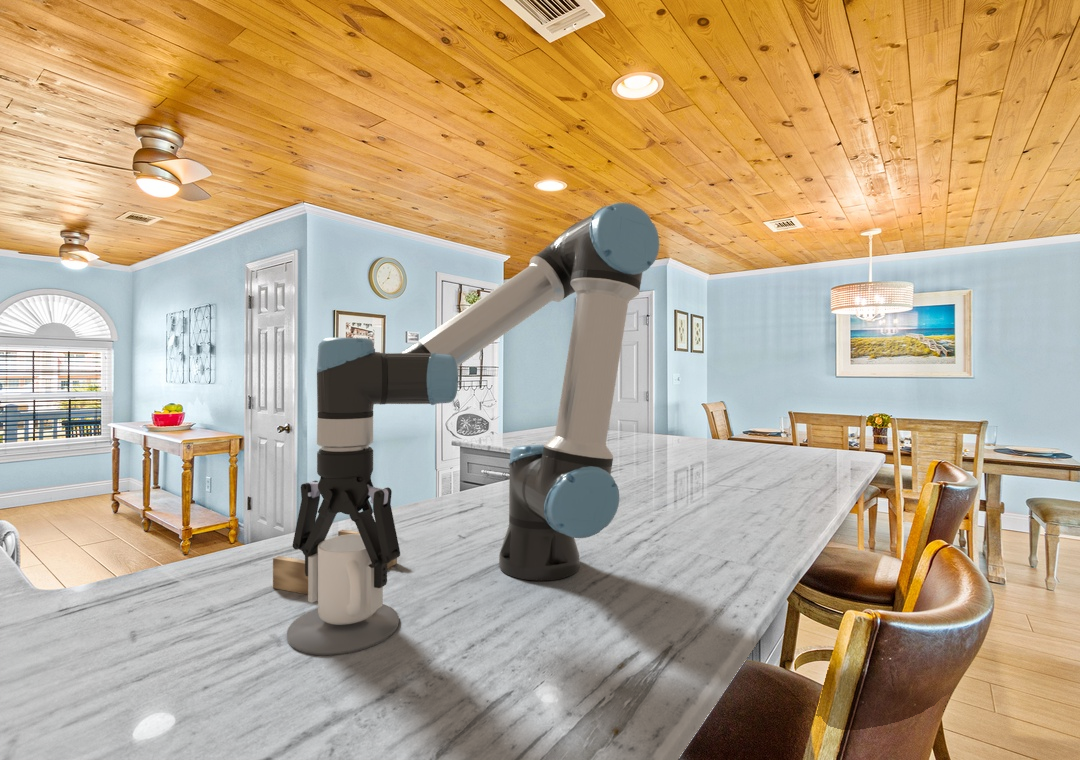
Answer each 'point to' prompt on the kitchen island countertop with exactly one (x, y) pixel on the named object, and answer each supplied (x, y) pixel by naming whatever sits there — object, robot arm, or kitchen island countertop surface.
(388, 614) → the coaster
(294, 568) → the caddy
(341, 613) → the mug
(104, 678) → the kitchen island countertop surface
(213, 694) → the kitchen island countertop surface
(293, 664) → the kitchen island countertop surface
